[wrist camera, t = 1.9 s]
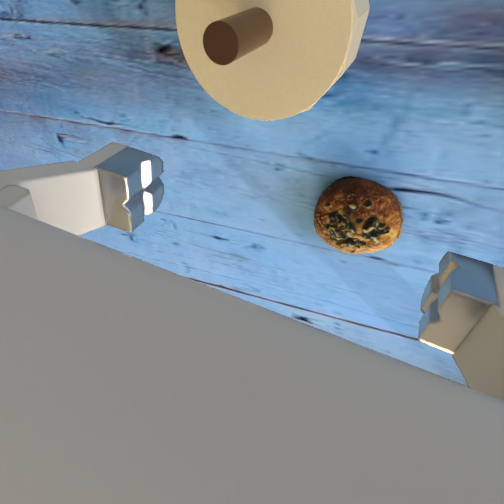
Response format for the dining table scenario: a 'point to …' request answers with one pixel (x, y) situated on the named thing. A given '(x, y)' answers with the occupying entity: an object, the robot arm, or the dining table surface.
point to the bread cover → (269, 50)
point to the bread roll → (358, 216)
